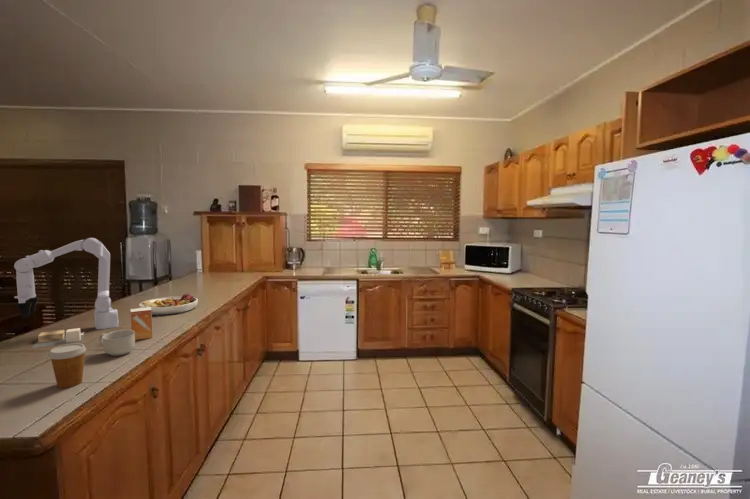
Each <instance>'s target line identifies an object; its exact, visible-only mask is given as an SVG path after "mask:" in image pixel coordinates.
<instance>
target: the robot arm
mask: <svg viewBox="0 0 750 499" xmlns="http://www.w3.org/2000/svg"><path fill="white" fill-rule="evenodd" d="M73 251H85V252H87V253H90V254H93V255H94V256H95V257H96V258H98V273H97V275H98V276H97V278H98V280H97V296H96V297H97V298H96V299H95V301H94V302H95V303H94V308H95V309H94V310H93V313H94V329H95V330H107V329H112V328H113V329H114V328H119V324H120V321H119V313H118V309H116V308H115V309H113V307H112V299H111V297H110V275H111V274H110V273H111V253H110V251H109V250H108V249H107V248H106V246H105V245H104V244H103V242H102V241H100V240H99V239H97V238H95V237H88V238H85V239H80V240H76V241H74V242H70V243H68V244H66V245H63V246H61V247H58V248H56V249H52V250H48V249H44V250H43V249H40V250H38V252H37V253H34V254H31V255H25V257H24V258H19V259H18V260H16V261H15V262H14V265H13V268H14V269H15V270H16V272H15V273H16V276H15V277H16V278H15V279H16V288H17V289H16V290H17V292H16V293H17V295H16V296H13V297H14V299H17V300H18V302H14V306H15V308H17V310H18V311H19V314H20V317H21V318H22V319H29V318H30V315H34V314H35V312H36V311H35V310H36V306H37V303H38V300H39V299H40V298H39V296H38V297H37V294H36V285H35V284H36V283H35V274H34V268H36V269H37V268H39V267H43V266H45V265H47V264H49V263H52V262H54V260H55V258H56V257H59V256H62V255H65V254H68V253H71V252H73Z"/></svg>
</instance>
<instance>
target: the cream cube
mask: <svg viewBox="0 0 750 499" xmlns="http://www.w3.org/2000/svg"><path fill="white" fill-rule="evenodd" d="M81 332H82V330H81V327H76V328H69V329H66V331H65V334H66V343H67V342H75V341H80V339H81Z"/></svg>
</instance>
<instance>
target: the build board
mask: <svg viewBox="0 0 750 499" xmlns="http://www.w3.org/2000/svg"><path fill="white" fill-rule="evenodd" d="M85 335H86V331H83V332H82V331H81V339H80V341H75V342H67V343H66V333H65V337H64V339H63V340H58V341H50V342H43V343H39V340H37V341H36V342H35V343H34V344H33V346H32V349H37V348H38V349H39V348H44V347H45V348H46V347H52V346H62V345H68V344H77V343H81V342H82V341H83V339H84V338H85V337H84V336H85Z"/></svg>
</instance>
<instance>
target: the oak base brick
mask: <svg viewBox="0 0 750 499" xmlns="http://www.w3.org/2000/svg"><path fill="white" fill-rule="evenodd" d="M65 334H66V331H65V329H58V330H57V329H56V330H51V331H49V330H48V331H42V332H40V333H39V334H38V340H39V343H43V342H50V341H58V340H63V339H64V337H65ZM38 340H37V341H38Z"/></svg>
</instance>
